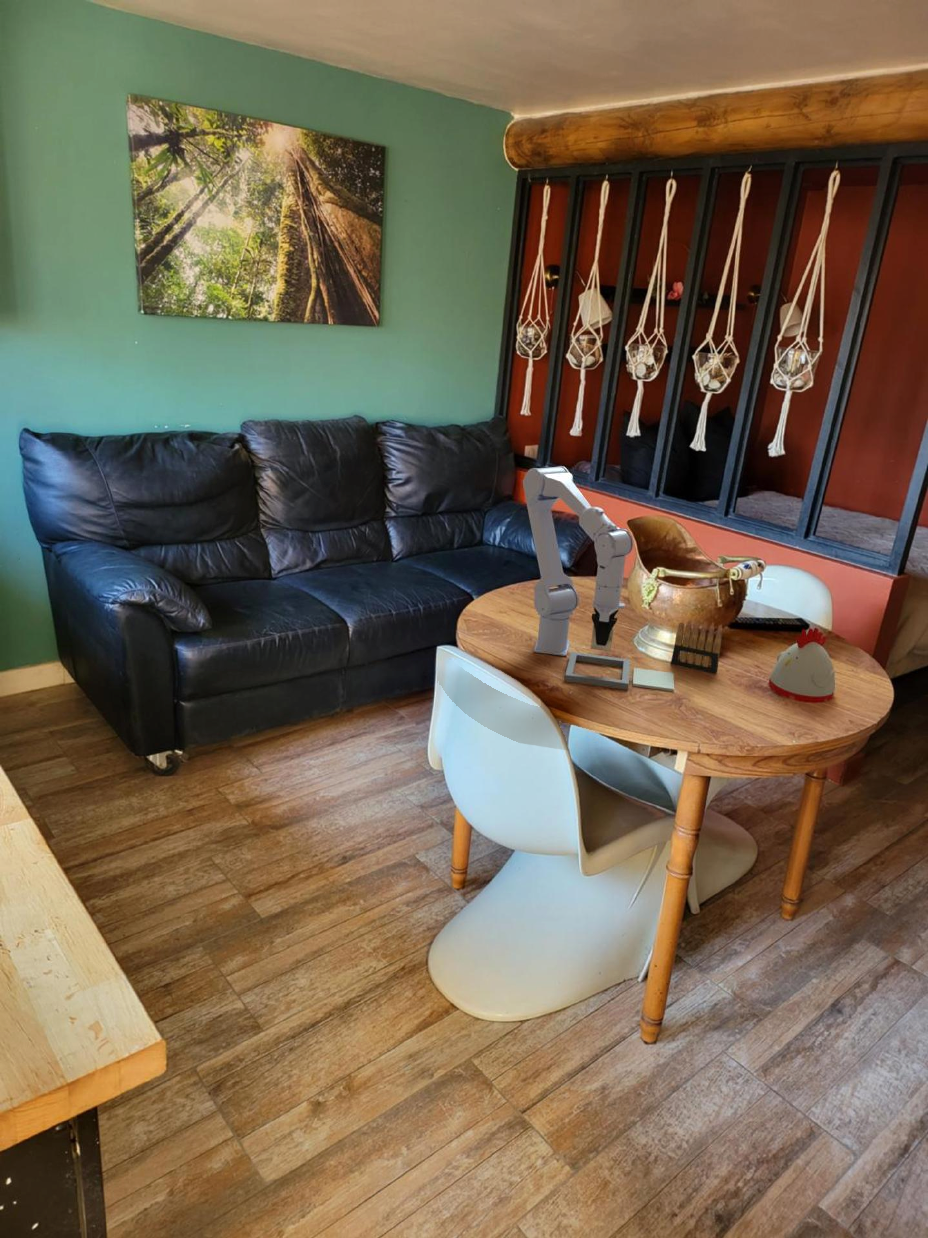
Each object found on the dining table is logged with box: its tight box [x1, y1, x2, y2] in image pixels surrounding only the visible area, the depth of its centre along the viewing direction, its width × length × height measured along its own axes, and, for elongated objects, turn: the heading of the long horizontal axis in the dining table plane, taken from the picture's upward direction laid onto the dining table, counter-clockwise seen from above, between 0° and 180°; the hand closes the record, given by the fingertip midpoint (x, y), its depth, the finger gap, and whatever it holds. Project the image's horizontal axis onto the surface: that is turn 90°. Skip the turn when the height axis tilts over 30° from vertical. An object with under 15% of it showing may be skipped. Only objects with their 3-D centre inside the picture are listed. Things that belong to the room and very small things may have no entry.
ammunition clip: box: [670, 619, 723, 674], centre depth 195 cm, size 11×2×12 cm, turn 65°
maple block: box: [590, 624, 615, 652], centre depth 188 cm, size 4×4×6 cm
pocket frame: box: [564, 651, 631, 691], centre depth 191 cm, size 14×14×2 cm
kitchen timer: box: [768, 627, 836, 704], centre depth 186 cm, size 14×14×15 cm
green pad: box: [632, 667, 675, 692], centre depth 189 cm, size 9×9×1 cm
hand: (601, 640), depth 188 cm, fingers closed on maple block, 4 cm apart
